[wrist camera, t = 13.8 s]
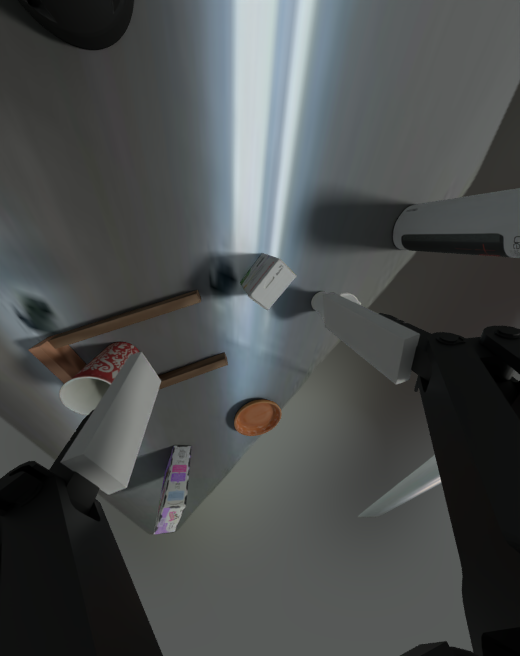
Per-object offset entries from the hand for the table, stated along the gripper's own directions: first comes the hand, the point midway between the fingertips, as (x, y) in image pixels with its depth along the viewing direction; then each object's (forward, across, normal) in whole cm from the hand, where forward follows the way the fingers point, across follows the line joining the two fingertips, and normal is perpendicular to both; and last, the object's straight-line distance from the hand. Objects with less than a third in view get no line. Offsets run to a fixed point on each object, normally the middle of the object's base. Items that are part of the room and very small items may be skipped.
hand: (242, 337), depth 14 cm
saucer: (+32, -3, -49) cm, 58 cm away
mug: (+32, -27, -14) cm, 44 cm away
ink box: (+32, +8, -4) cm, 33 cm away
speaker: (+32, +49, -3) cm, 58 cm away
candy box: (+31, -34, -56) cm, 73 cm away
